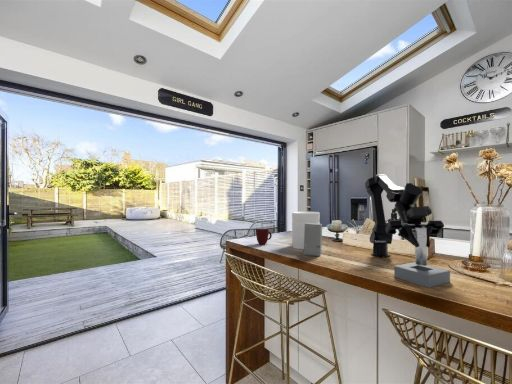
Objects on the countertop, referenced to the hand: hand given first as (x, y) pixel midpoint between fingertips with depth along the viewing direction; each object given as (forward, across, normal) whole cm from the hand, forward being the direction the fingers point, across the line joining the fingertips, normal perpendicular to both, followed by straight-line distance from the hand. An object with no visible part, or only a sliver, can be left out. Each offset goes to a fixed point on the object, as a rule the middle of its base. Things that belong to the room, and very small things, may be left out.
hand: (423, 246), depth 87 cm
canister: (-30, -34, +48) cm, 66 cm away
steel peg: (+4, 0, +6) cm, 7 cm away
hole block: (+8, 0, +9) cm, 12 cm away
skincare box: (-17, -33, +34) cm, 51 cm away
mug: (-34, -60, +52) cm, 86 cm away
